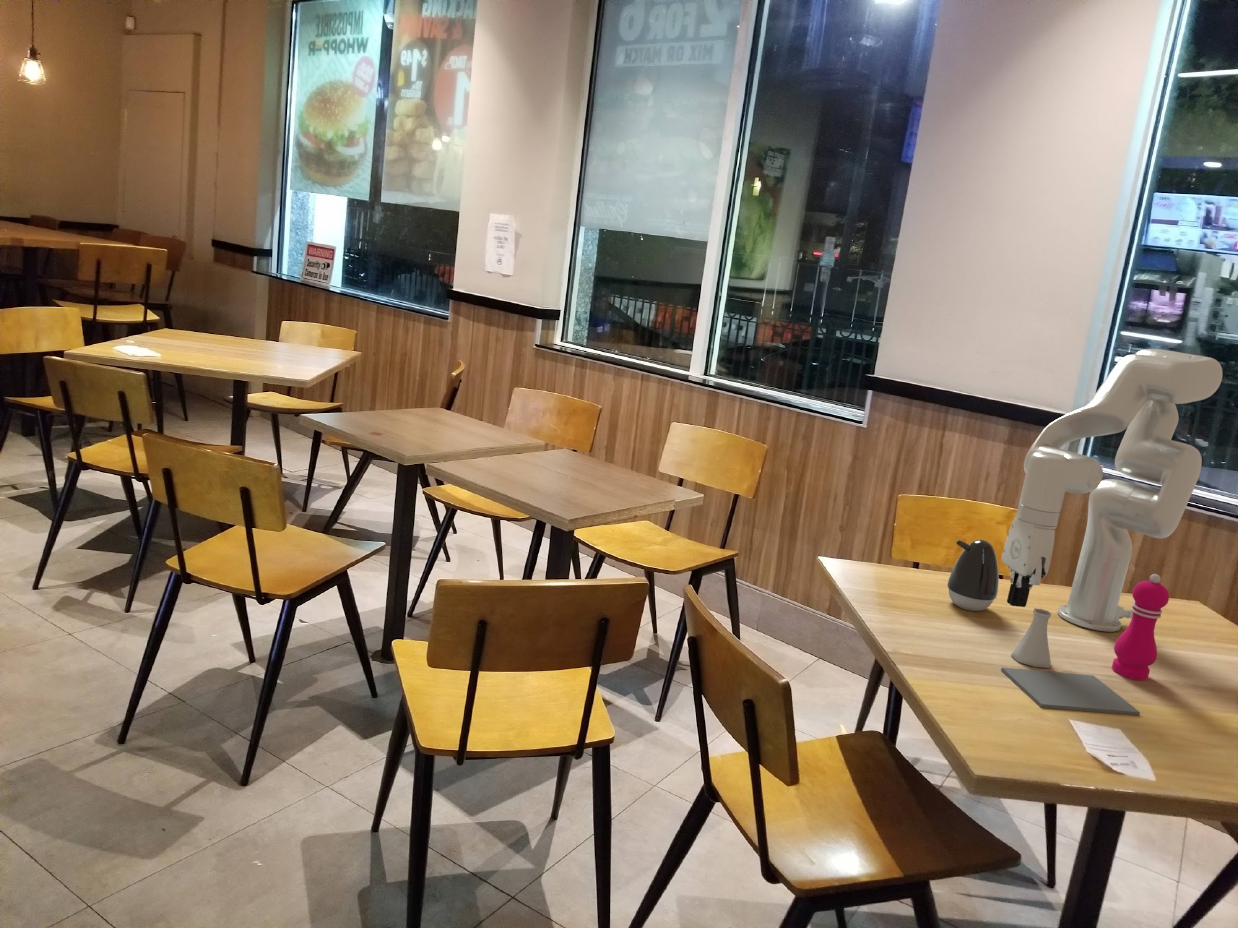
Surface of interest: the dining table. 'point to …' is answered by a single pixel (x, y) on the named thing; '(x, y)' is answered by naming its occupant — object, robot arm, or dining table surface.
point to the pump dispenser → (974, 576)
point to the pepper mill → (1141, 631)
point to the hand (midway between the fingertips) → (1016, 604)
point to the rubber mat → (1069, 691)
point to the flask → (1035, 642)
